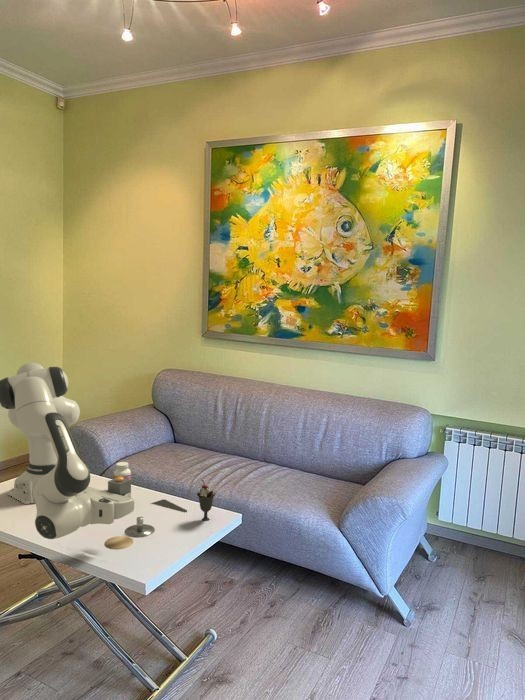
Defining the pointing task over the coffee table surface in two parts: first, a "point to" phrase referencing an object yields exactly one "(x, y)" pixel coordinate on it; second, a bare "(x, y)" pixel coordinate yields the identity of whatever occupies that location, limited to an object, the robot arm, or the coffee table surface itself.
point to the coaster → (119, 542)
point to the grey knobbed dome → (139, 529)
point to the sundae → (205, 500)
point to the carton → (119, 486)
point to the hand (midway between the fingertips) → (121, 492)
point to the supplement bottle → (122, 470)
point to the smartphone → (169, 505)
